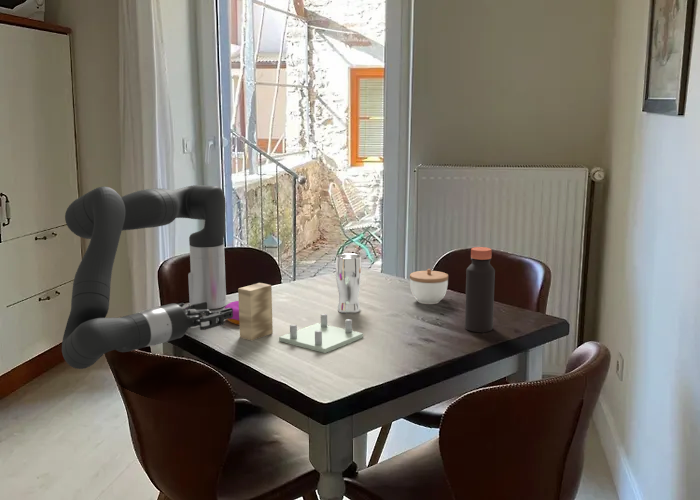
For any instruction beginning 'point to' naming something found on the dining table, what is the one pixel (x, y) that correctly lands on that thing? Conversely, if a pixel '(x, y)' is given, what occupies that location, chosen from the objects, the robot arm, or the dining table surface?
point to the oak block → (255, 311)
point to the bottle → (480, 291)
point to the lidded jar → (428, 286)
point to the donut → (234, 312)
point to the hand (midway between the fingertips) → (218, 309)
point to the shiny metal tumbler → (348, 282)
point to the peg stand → (321, 336)
